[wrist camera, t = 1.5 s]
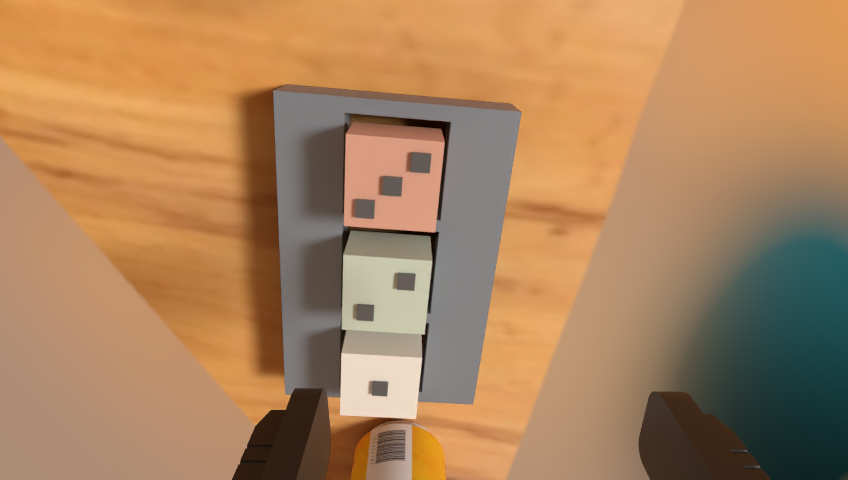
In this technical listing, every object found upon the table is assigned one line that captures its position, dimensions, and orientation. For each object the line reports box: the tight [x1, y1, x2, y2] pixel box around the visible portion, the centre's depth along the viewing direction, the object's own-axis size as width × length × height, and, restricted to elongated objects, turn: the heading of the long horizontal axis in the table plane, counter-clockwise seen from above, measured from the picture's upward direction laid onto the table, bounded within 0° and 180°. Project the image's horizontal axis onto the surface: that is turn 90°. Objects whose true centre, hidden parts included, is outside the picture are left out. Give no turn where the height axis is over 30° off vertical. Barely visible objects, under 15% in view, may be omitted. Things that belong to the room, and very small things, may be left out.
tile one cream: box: [340, 330, 422, 419], centre depth 26 cm, size 4×4×3 cm
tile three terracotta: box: [344, 122, 445, 232], centre depth 21 cm, size 4×4×3 cm
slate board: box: [273, 84, 521, 404], centre depth 26 cm, size 11×17×2 cm, turn 175°
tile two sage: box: [342, 231, 432, 335], centre depth 23 cm, size 4×4×3 cm
